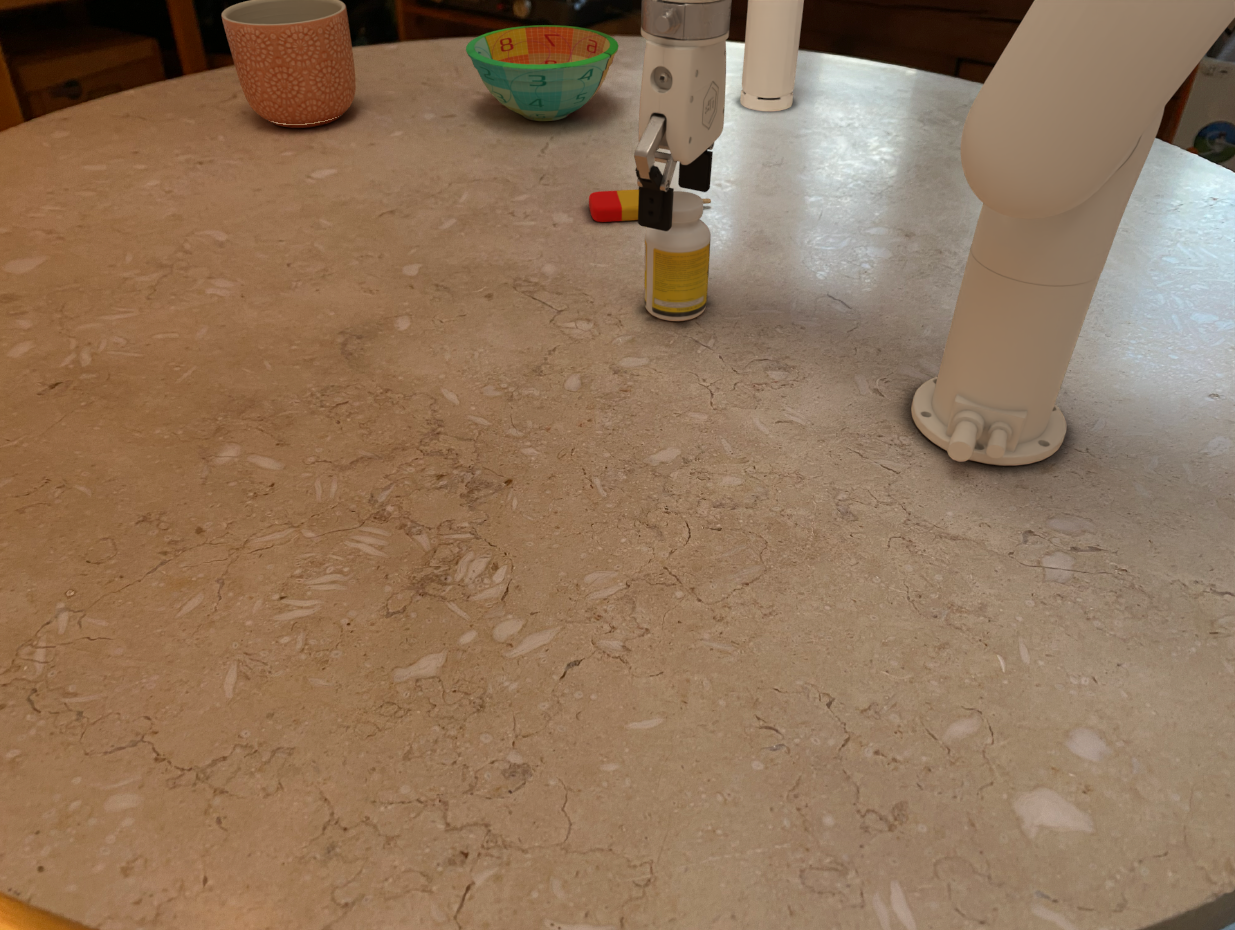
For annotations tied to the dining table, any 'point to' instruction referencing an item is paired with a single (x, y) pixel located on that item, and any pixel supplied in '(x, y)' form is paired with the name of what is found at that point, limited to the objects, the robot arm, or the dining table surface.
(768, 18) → the bottle
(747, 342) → the dining table surface
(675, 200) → the pill bottle
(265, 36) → the planter
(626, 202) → the popsicle
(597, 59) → the bowl
